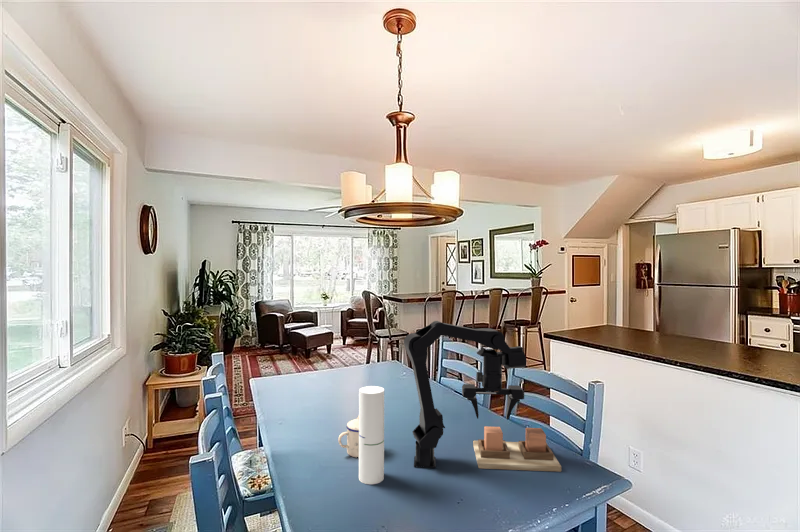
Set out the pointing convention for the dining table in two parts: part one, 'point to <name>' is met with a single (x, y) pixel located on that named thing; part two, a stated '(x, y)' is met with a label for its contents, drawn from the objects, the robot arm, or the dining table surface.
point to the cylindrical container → (371, 434)
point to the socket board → (519, 454)
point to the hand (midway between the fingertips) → (492, 418)
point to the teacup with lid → (351, 438)
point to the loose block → (493, 438)
